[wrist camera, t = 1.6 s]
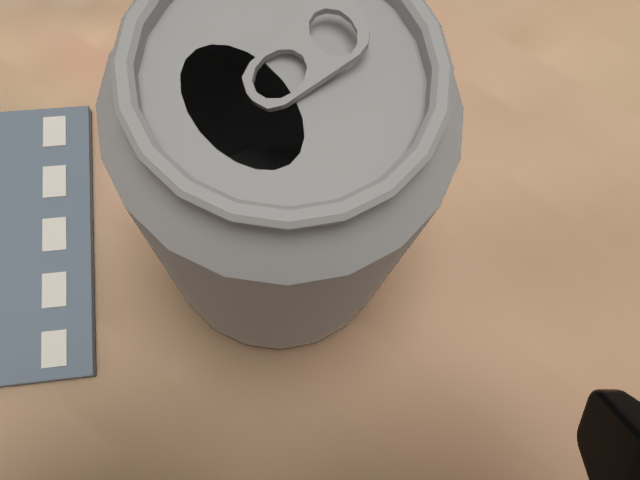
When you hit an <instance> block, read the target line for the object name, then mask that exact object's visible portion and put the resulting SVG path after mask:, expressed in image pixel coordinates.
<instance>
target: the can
mask: <svg viewBox="0 0 640 480" xmlns="http://www.w3.org/2000/svg"><path fill="white" fill-rule="evenodd" d="M96 112H97V122H98V133H99V143H100V153H101V159H102V161H103V163H104V165H105V167H106V169H107V171H108V173H109V175H110V177H111V179H112V181H113V183H114V185H115V188H116V190H117V192H118V194H119V196H120V198H121V200H122V202H123V204H124V206H125V208H126V210H127V211H128V213H129V214H130V216H131V217H132V219H133V220H134V222H135V223H136V225H137V226H138V228H139V229H140V231H141V232H142V234H143V235H144V237H145V238H146V240H147V241H148V243H149V244H150V246H151V247H152V249H153V250H154V252H155V253H156V255H157V256H158V258H159V259H160V261H161V262H162V264H163V266H164V267H165V269H166V270H167V272H168V273H169V275H170V276H171V278H172V279H173V281H174V282H175V284H176V285H177V287H178V288H179V290H180V291H181V293H182V294H183V296H184V297H185V299H186V300H187V302H188V303H189V305H190V306H191V307H192V308H193V309H194V310H195V311H196V312H197V313H198V314H199V315H200V316H201V317H202V318H203V319H204V320H205V321H206V322H207V323H208V324H209V325H210V326H211V327H212V328H213V329H215V330H217V331H219V332H221V333H223V334H225V335H227V336H229V337H231V338H233V339H235V340H237V341H239V342H241V343H243V344H246V345H253V346H260V347H268V348H275V349H284V348H290V347H295V346H301V345H306V344H312V343H316V342H317V341H319V340H321V339H323V338H325V337H327V336H328V335H330V334H332V333H334V332H336V331H338V330H339V329H341V328H343V327H345V326H346V325H347V324H348V323H349V322H350V321H351V320H352V318H353V317H354V316H355V315H356V314H357V313H358V312H359V311H360V310H361V309H362V308H363V307H364V306H365V305H366V303H367V302H368V301H369V300H370V298H371V297H372V296H373V295H374V293H375V292H376V291H377V289H378V288H379V287H380V285H381V284H382V283H383V281H384V280H385V279H386V277H387V276H388V275H389V273H390V272H391V271H392V269H393V268H394V267H395V265H396V264H397V263H398V261H399V260H400V259H401V257H402V256H403V255H404V253H405V252H406V251H407V249H408V248H409V247H410V245H411V244H412V243H413V241H414V240H415V239H416V237H417V236H418V235H419V233H420V232H421V231H422V229H423V228H424V227H425V225H426V224H427V223H428V222H429V220H430V219H431V218H432V216H433V215H434V214H435V212H436V211H437V210H438V208H439V207H440V205H441V202H442V200H443V198H444V195H445V193H446V191H447V188H448V186H449V184H450V182H451V179H452V177H453V175H454V172H455V170H456V168H457V165H458V163H459V161H460V158H461V141H462V124H463V105H462V101H461V98H460V94H459V91H458V87H457V84H456V80H455V77H454V68H453V64H452V61H451V57H450V54H449V50H448V47H447V43H446V40H445V37H444V33H443V30H442V26H441V24H440V22H439V21H438V19H437V18H436V17H435V15H434V14H433V12H432V11H431V9H430V8H429V6H428V5H427V3H426V2H425V1H424V0H134V1H133V3H132V4H131V6H130V7H129V8H128V10H127V11H126V13H125V14H124V16H123V17H122V19H121V23H120V27H119V30H118V34H117V38H116V42H115V45H114V48H113V50H112V51H111V53H110V54H109V57H108V61H107V65H106V69H105V72H104V76H103V80H102V83H101V87H100V91H99V95H98V98H97V102H96Z"/></svg>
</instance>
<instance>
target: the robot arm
mask: <svg viewBox="0 0 640 480" xmlns="http://www.w3.org/2000/svg"><path fill="white" fill-rule="evenodd" d="M577 442H578V447H579V450H580V453H581V456H582V459H583V462H584V465H585V468H586V471H587V475H588V478H589V480H640V402H639V401H638V400H636V399H635V398H633V397H632V396H630V395H629V394H627V393H626V392H624V391H621V390H614V389H598V390H594V391H593V392H592V393H591V394H590V395H589V397H588V400H587V403H586V406H585V409H584V412H583V415H582V418H581V421H580V424H579V427H578V431H577Z"/></svg>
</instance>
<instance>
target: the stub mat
mask: <svg viewBox="0 0 640 480" xmlns="http://www.w3.org/2000/svg"><path fill="white" fill-rule="evenodd" d="M93 376H96V345H95V288H94V232H93V175H92V119H91V110H90V108H89V106H80V107H66V108H52V109H38V110H23V111H9V112H0V387H8V386H16V385H25V384H33V383H42V382H51V381H59V380H68V379H76V378H85V377H93Z"/></svg>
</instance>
